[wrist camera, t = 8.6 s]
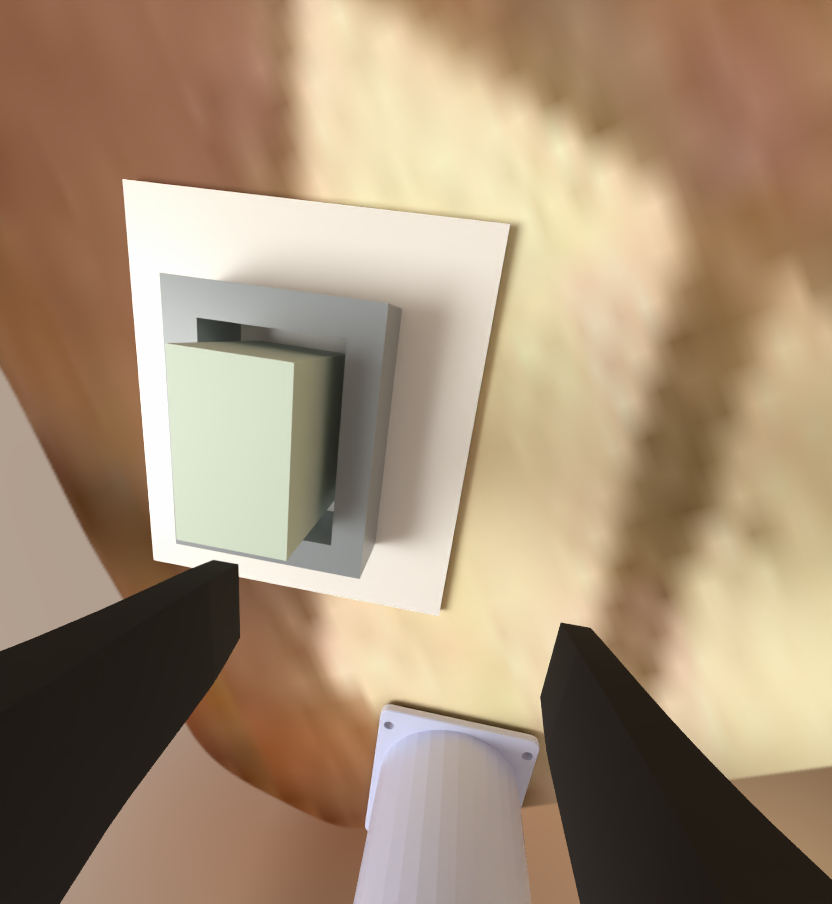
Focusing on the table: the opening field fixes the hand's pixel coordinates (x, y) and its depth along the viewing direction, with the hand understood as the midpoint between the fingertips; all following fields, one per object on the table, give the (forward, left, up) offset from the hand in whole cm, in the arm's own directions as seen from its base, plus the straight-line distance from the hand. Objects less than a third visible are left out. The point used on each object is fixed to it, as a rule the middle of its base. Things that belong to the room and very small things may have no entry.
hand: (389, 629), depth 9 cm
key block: (+2, +6, -8) cm, 10 cm away
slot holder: (+2, +6, -8) cm, 10 cm away
